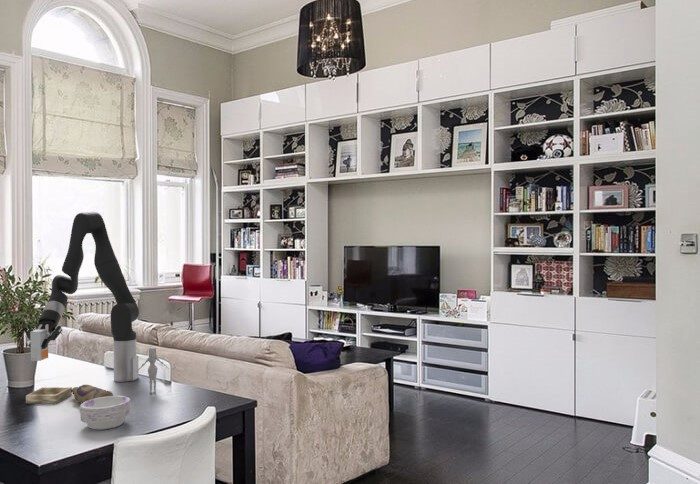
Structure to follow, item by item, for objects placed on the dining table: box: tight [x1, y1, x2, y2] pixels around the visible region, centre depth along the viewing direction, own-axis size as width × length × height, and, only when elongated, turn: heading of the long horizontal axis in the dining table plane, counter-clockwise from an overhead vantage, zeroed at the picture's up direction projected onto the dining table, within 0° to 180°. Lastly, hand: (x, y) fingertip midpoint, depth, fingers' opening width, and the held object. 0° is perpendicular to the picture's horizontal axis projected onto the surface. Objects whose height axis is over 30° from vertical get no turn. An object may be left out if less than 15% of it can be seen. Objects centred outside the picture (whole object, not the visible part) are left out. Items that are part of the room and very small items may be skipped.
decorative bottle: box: [71, 384, 115, 404], centre depth 217 cm, size 26×8×7 cm, turn 48°
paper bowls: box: [79, 395, 131, 431], centre depth 191 cm, size 15×15×8 cm
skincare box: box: [29, 329, 49, 362], centre depth 240 cm, size 6×4×12 cm
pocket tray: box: [25, 386, 73, 405], centre depth 223 cm, size 12×12×3 cm
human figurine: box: [137, 347, 169, 395], centre depth 229 cm, size 12×4×18 cm, turn 117°
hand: (37, 348), depth 238 cm, fingers closed on skincare box, 4 cm apart
